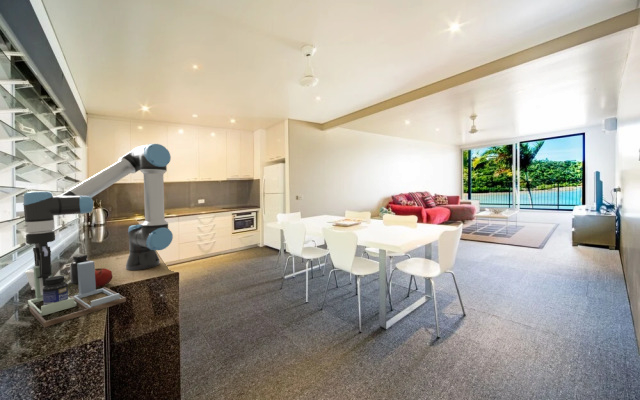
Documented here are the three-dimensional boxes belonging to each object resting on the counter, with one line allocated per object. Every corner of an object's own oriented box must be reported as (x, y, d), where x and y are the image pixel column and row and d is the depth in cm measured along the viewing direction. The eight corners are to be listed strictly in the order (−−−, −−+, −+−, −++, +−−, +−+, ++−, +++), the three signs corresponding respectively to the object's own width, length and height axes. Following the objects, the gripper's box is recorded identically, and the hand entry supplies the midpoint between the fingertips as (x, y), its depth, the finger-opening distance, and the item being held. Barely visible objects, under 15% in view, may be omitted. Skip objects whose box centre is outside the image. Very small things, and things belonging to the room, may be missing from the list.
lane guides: (105, 290, 107) (104, 286, 107) (125, 301, 96) (125, 297, 96) (29, 311, 90) (29, 306, 90) (44, 327, 78) (43, 322, 78)
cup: (22, 292, 107) (21, 273, 107) (33, 284, 116) (32, 267, 115) (46, 288, 110) (44, 270, 110) (55, 281, 119) (54, 264, 119)
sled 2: (100, 289, 107) (98, 259, 107) (121, 301, 96) (119, 267, 95) (71, 297, 100) (69, 264, 99) (90, 310, 88) (87, 273, 88)
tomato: (94, 283, 116) (93, 266, 115) (117, 281, 118) (116, 264, 117) (79, 291, 107) (78, 272, 106) (105, 289, 108) (104, 270, 108)
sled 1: (60, 293, 104) (58, 262, 104) (76, 305, 93) (74, 270, 92) (26, 302, 97) (24, 268, 96) (40, 316, 85) (37, 278, 84)
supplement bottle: (85, 283, 117) (83, 256, 116) (67, 284, 115) (65, 258, 114) (94, 278, 123) (93, 253, 123) (77, 279, 122) (75, 254, 121)
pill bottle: (63, 310, 90) (61, 279, 89) (39, 314, 87) (37, 282, 87) (72, 303, 95) (70, 273, 95) (50, 306, 93) (48, 276, 92)
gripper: (21, 232, 100) (25, 291, 101) (30, 235, 91) (35, 301, 92) (49, 229, 106) (52, 285, 107) (60, 232, 97) (64, 293, 98)
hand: (44, 292), depth 99 cm, fingers closed on sled 1, 3 cm apart
